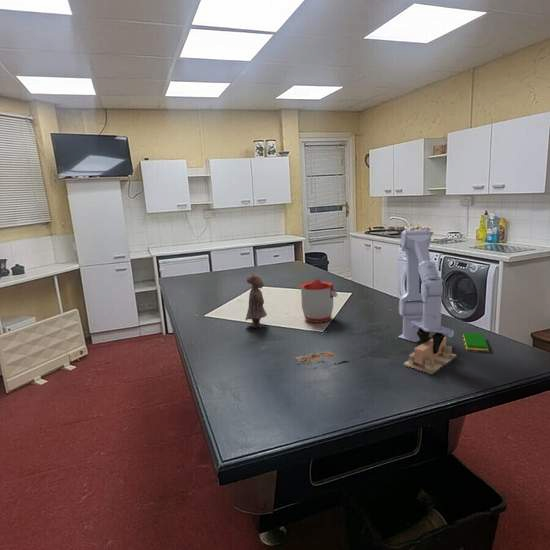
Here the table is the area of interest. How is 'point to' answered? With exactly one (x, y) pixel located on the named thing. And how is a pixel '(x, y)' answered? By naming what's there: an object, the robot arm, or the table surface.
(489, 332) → the table surface
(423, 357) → the clay strip
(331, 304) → the citrus juicer
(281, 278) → the table surface
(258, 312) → the clay figurine
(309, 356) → the bark
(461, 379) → the table surface
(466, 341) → the dish sponge
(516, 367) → the table surface
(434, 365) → the birch rack
